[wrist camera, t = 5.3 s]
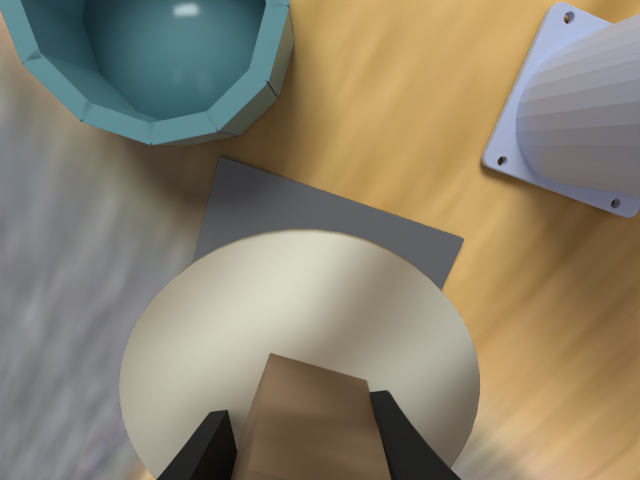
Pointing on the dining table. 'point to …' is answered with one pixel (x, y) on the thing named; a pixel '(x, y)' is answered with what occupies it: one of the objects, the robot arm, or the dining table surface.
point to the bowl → (157, 62)
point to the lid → (299, 357)
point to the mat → (313, 218)
